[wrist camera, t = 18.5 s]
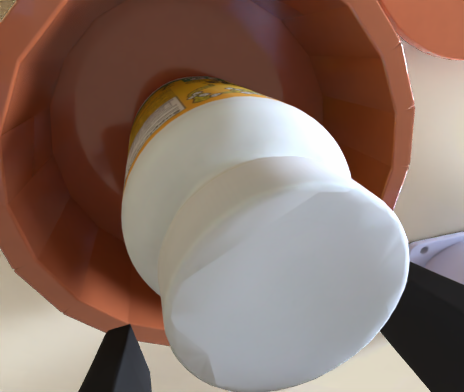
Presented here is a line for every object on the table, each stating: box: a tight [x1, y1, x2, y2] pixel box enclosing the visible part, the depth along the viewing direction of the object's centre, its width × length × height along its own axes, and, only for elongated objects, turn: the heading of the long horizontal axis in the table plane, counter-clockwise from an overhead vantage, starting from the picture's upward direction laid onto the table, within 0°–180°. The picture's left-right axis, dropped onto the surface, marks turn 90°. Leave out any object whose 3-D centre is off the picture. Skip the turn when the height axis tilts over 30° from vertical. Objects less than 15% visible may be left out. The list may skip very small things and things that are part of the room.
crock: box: [0, 0, 415, 346], centre depth 12 cm, size 12×12×5 cm
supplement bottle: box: [121, 76, 409, 392], centre depth 9 cm, size 5×5×10 cm
